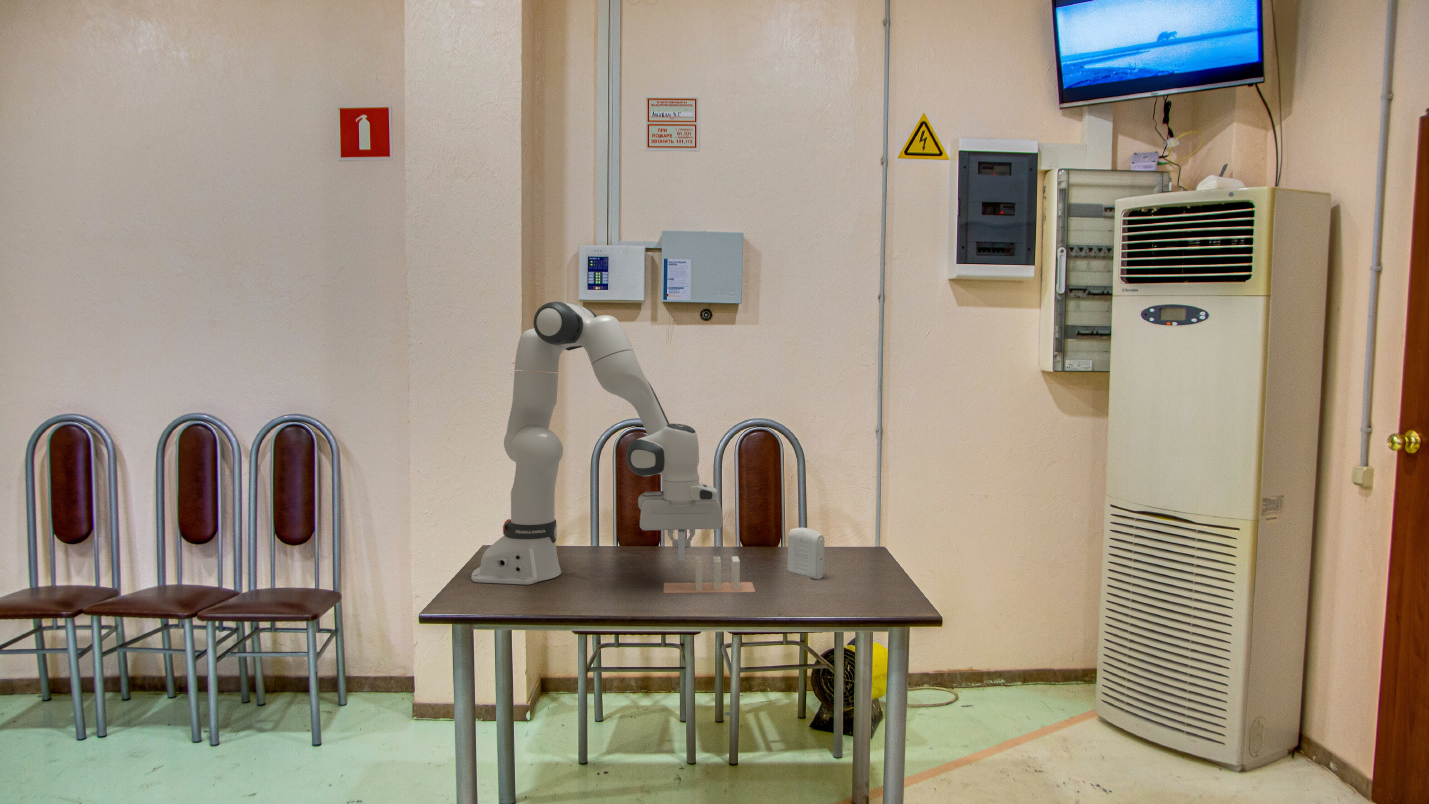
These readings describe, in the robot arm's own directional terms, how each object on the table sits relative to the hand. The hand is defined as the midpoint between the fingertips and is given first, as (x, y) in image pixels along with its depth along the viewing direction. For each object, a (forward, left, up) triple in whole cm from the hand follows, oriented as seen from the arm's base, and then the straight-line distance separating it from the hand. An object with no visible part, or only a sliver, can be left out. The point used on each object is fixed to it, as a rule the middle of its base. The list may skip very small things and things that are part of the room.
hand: (681, 547), depth 191 cm
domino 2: (+4, 0, -10) cm, 11 cm away
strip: (+7, 0, -11) cm, 13 cm away
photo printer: (+33, +12, -11) cm, 36 cm away
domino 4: (+13, 0, -10) cm, 17 cm away
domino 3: (+9, 0, -10) cm, 13 cm away
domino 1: (0, 0, -3) cm, 3 cm away
